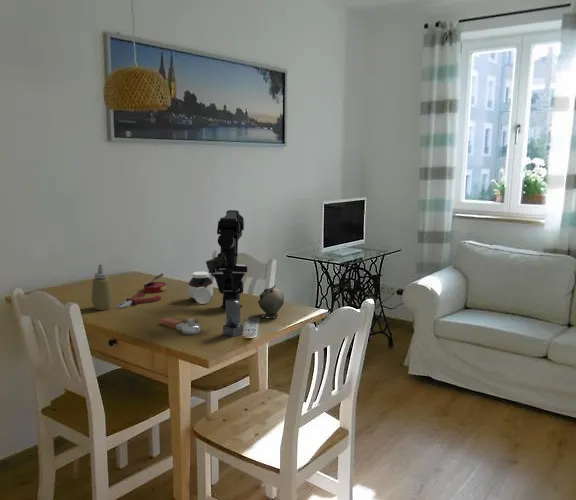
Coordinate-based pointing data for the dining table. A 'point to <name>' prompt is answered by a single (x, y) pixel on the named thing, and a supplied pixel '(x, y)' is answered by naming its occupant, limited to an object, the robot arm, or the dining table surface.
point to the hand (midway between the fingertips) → (227, 292)
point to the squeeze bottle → (101, 290)
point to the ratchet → (182, 325)
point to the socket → (232, 318)
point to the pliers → (138, 300)
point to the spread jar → (200, 287)
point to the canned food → (155, 286)
